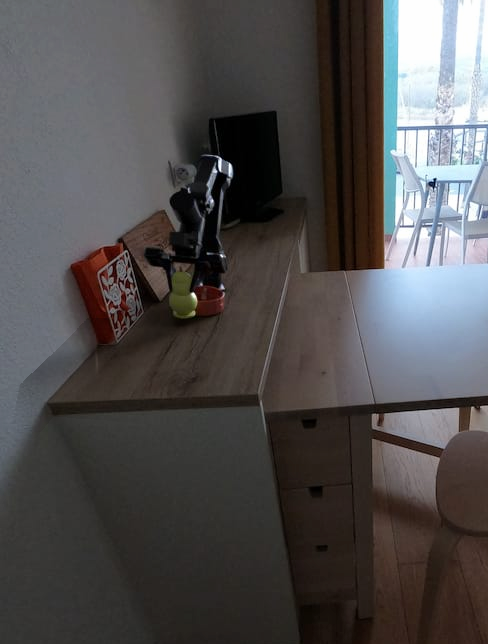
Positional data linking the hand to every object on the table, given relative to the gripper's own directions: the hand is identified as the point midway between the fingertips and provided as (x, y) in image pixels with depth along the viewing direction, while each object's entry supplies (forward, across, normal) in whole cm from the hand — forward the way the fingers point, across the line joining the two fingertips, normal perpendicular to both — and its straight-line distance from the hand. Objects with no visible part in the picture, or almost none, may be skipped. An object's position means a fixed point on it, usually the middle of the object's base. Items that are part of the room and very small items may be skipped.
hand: (180, 291), depth 112 cm
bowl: (-2, +1, +16) cm, 16 cm away
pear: (+4, 0, +6) cm, 7 cm away
